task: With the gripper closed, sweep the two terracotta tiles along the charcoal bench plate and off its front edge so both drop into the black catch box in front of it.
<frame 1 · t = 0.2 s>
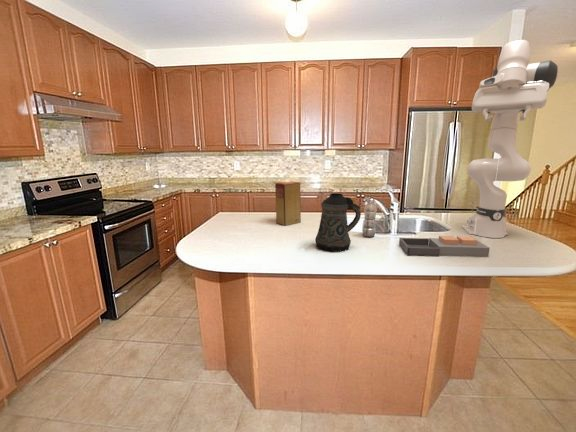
hand: (504, 120, 98), 54 cm above the table, tool tilted 30°, fingers open, 8 cm apart
beer stein: (335, 246, 140), on the table
plastic bottle: (368, 236, 154), on the table
bench plate: (456, 251, 131), on the table
tile back: (466, 242, 129), point 4 cm above the table, touching bench plate
tile front: (448, 242, 130), point 4 cm above the table, touching bench plate
catch box: (417, 250, 133), on the table
food packaging: (288, 223, 183), on the table
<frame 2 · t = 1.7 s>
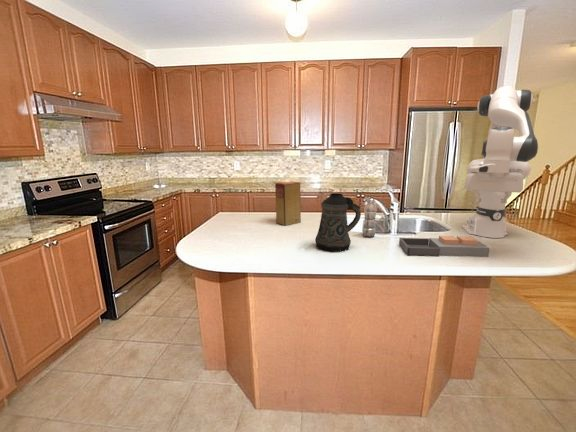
hand: (490, 202, 121), 23 cm above the table, tool pointing down, fingers open, 8 cm apart
nothing on the table moved.
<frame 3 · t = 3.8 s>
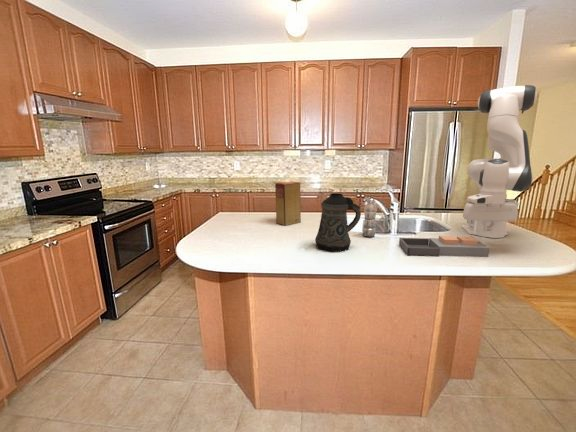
hand: (487, 230, 127), 10 cm above the table, tool pointing down, fingers closed
nothing on the table moved.
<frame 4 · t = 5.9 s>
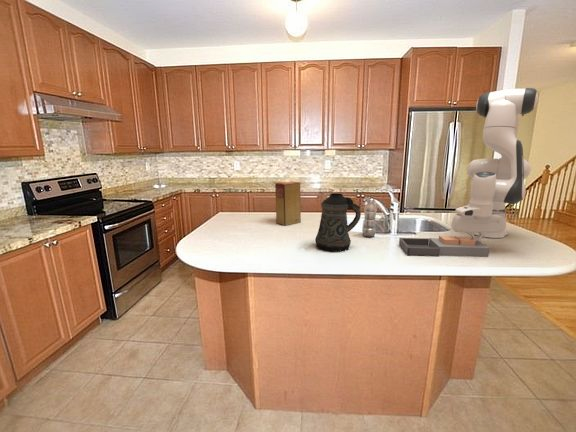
hand: (475, 241, 129), 5 cm above the table, tool pointing down, fingers closed
tile back: (464, 242, 129), point 4 cm above the table, touching gripper
everything else where it was.
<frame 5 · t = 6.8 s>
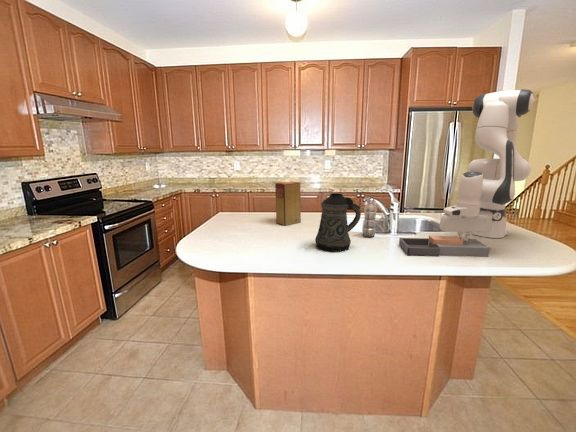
hand: (463, 241, 129), 5 cm above the table, tool pointing down, fingers closed
tile back: (452, 242, 130), point 4 cm above the table, touching gripper, tile front
tile front: (437, 242, 131), point 4 cm above the table, touching bench plate, tile back
everything else where it was.
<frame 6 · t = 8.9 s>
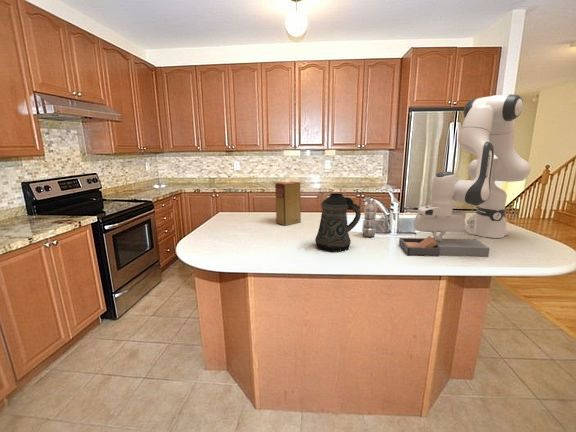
hand: (437, 240, 130), 5 cm above the table, tool pointing down, fingers closed
tile back: (429, 245, 131), point 2 cm above the table, tilted 39°, touching catch box, gripper
tile front: (412, 244, 132), point 3 cm above the table, tilted 180°, touching catch box
everything else where it was.
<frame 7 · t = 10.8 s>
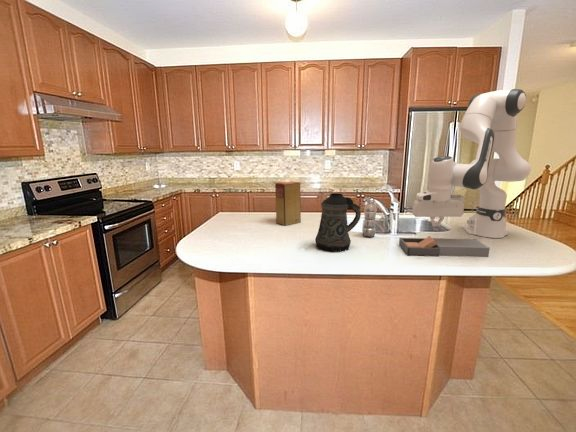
hand: (436, 226, 130), 11 cm above the table, tool pointing down, fingers closed
tile back: (428, 245, 132), point 2 cm above the table, tilted 38°, touching bench plate, catch box
everything else where it was.
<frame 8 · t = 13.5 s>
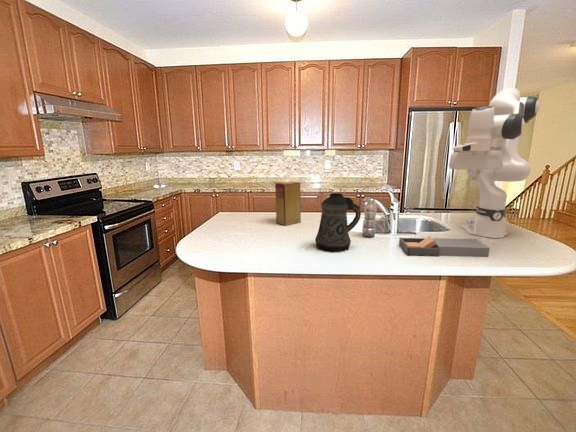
hand: (473, 180, 127), 31 cm above the table, tool pointing down, fingers closed
nothing on the table moved.
at the end: tile front inside the target area (3.2 cm from its centre), point 2.7 cm above the table; tile back inside the target area (3.8 cm from its centre), point 2.3 cm above the table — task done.
